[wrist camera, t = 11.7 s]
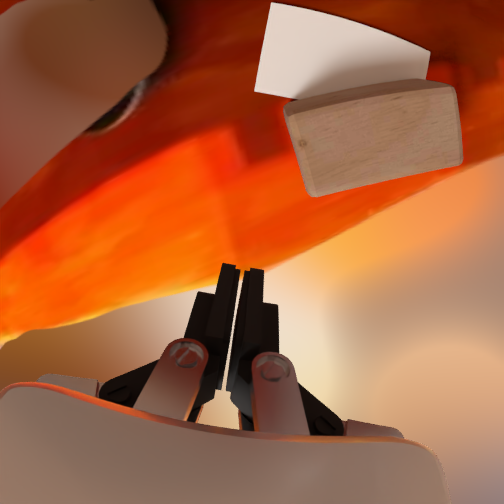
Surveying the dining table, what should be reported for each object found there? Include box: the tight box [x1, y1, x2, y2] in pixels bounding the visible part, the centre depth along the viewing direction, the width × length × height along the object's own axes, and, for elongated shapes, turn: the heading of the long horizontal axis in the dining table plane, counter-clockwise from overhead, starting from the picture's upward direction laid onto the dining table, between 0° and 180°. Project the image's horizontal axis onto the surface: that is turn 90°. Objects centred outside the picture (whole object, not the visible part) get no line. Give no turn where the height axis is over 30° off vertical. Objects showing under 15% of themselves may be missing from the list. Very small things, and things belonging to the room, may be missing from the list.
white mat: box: [254, 2, 430, 100], centre depth 32 cm, size 13×22×1 cm, turn 81°
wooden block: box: [283, 78, 463, 197], centre depth 32 cm, size 10×10×20 cm
